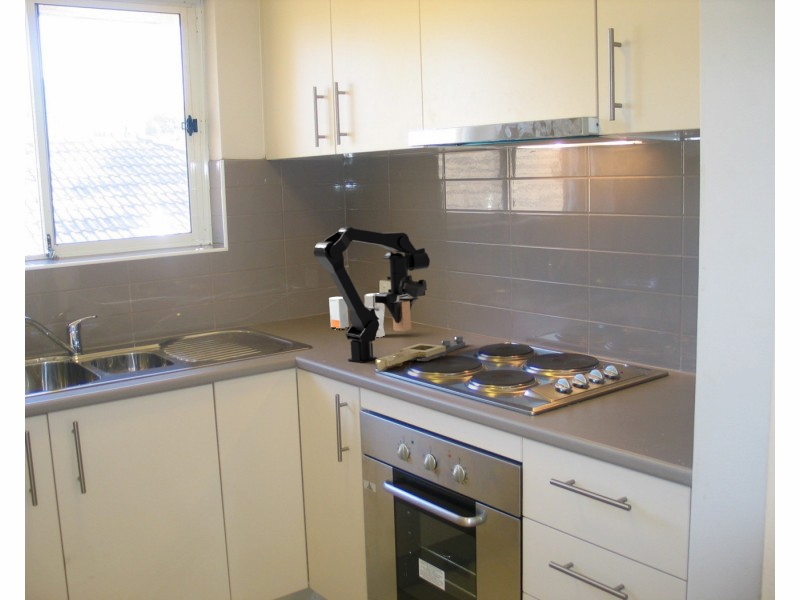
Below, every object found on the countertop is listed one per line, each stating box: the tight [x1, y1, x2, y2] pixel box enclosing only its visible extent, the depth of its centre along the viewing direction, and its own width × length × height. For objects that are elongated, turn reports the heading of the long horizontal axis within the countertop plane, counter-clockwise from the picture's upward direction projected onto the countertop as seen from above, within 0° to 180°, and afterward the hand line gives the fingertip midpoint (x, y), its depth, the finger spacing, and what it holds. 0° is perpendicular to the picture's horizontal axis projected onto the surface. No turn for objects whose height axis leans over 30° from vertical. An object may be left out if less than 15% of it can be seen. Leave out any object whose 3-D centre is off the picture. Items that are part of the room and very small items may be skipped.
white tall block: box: [364, 292, 386, 338], centre depth 286 cm, size 7×7×15 cm
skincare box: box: [328, 296, 350, 328], centre depth 306 cm, size 6×4×12 cm
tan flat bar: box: [374, 335, 466, 372], centre depth 248 cm, size 41×10×3 cm, turn 141°
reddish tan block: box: [392, 300, 412, 332], centre depth 256 cm, size 4×4×9 cm
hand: (401, 321), depth 257 cm, fingers closed on reddish tan block, 4 cm apart
